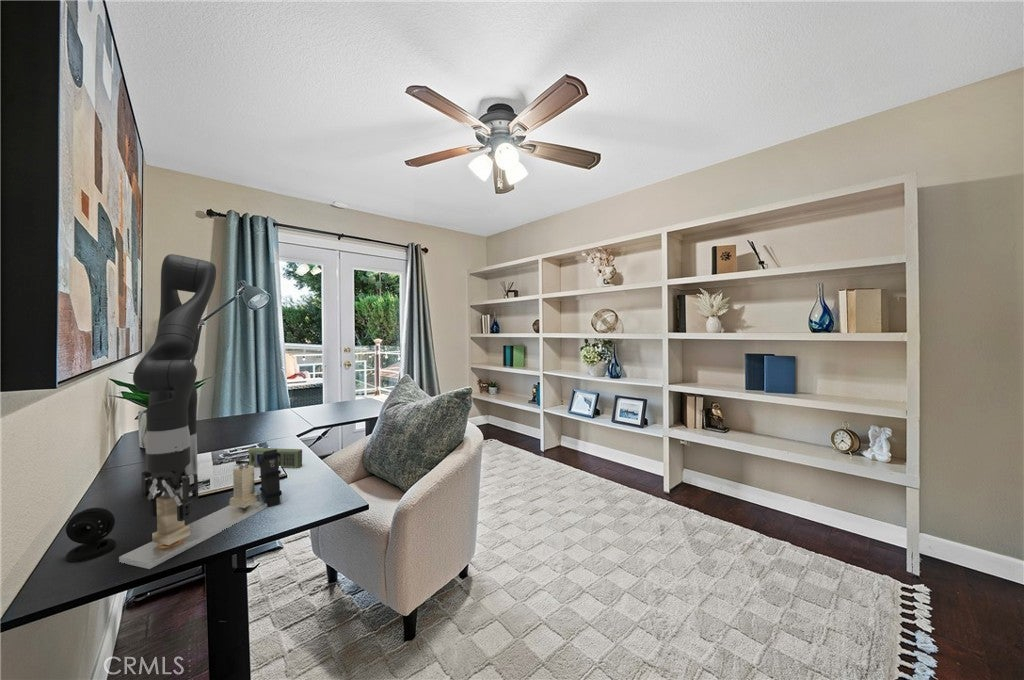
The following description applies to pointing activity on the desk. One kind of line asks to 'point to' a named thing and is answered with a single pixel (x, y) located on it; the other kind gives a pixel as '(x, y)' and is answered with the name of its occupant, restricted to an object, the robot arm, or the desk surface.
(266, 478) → the black boxy piece
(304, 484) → the desk surface
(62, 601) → the desk surface
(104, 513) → the webcam
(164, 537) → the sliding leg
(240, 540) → the desk surface
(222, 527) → the bolt-hole plate
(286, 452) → the handheld radio
